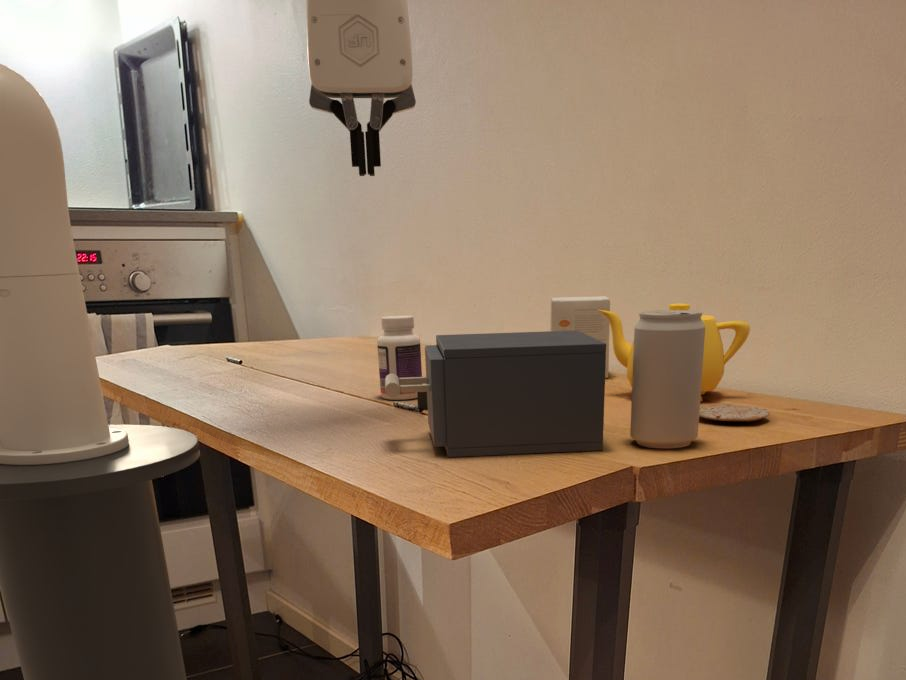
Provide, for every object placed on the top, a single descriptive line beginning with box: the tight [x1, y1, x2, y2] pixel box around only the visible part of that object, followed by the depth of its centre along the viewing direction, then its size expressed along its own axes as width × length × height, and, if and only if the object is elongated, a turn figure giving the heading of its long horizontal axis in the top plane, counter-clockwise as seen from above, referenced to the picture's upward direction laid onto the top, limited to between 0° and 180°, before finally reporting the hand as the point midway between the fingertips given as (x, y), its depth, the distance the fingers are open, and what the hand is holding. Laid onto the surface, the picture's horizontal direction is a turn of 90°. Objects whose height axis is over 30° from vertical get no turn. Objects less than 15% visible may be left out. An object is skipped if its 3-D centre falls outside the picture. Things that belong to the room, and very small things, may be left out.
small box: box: [549, 295, 611, 379], centre depth 126 cm, size 8×6×10 cm
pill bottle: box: [376, 315, 423, 401], centre depth 114 cm, size 5×5×10 cm
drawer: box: [385, 344, 447, 448], centre depth 88 cm, size 18×11×8 cm, turn 96°
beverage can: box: [629, 309, 705, 450], centre depth 84 cm, size 6×6×12 cm
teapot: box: [598, 302, 751, 402], centre depth 109 cm, size 18×11×11 cm, turn 74°
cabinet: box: [435, 330, 606, 458], centre depth 88 cm, size 15×13×10 cm
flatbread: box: [699, 403, 771, 422], centre depth 97 cm, size 8×8×1 cm
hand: (367, 174), depth 94 cm, fingers closed
